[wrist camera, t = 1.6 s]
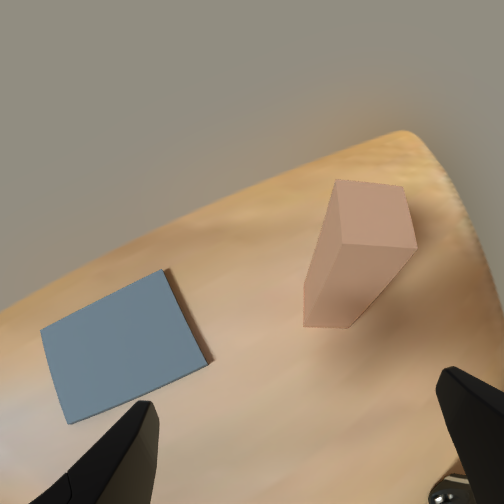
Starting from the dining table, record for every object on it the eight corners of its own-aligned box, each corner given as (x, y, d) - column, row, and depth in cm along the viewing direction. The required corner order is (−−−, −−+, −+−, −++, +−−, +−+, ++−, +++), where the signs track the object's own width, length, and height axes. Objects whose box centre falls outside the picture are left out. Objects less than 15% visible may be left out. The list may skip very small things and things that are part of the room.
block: (348, 328, 24) (417, 248, 13) (303, 327, 24) (342, 243, 13) (346, 286, 25) (403, 186, 14) (303, 284, 25) (335, 179, 15)
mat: (163, 272, 26) (161, 268, 26) (208, 365, 22) (207, 363, 22) (43, 332, 23) (40, 330, 23) (71, 424, 19) (67, 424, 19)
